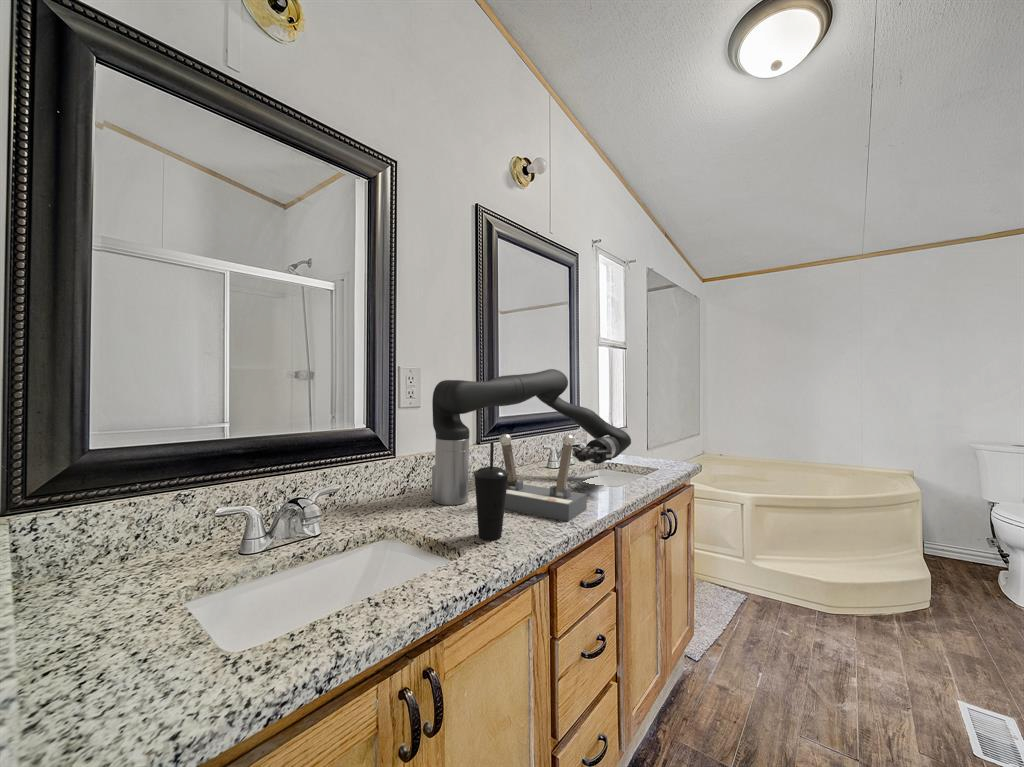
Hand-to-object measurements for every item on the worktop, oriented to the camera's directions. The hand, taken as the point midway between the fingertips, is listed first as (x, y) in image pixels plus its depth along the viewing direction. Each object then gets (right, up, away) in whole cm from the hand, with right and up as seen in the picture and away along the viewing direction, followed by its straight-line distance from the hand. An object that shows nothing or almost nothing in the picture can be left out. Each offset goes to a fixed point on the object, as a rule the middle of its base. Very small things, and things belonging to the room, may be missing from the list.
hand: (581, 457), depth 122 cm
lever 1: (-19, -6, -5) cm, 21 cm away
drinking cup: (-24, -12, -31) cm, 41 cm away
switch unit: (-14, -12, -9) cm, 20 cm away
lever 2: (-7, -7, -12) cm, 16 cm away
